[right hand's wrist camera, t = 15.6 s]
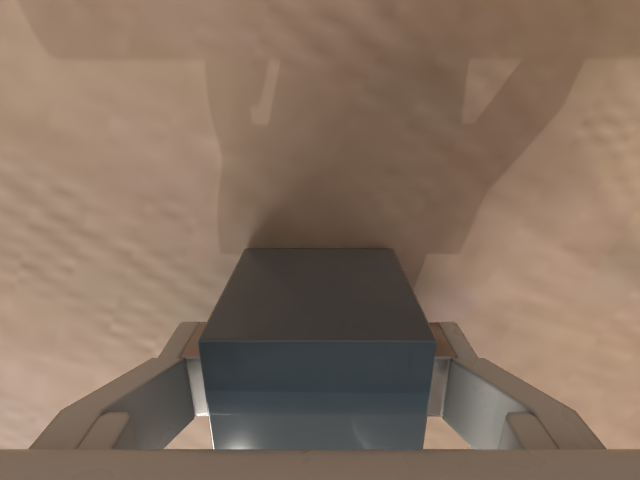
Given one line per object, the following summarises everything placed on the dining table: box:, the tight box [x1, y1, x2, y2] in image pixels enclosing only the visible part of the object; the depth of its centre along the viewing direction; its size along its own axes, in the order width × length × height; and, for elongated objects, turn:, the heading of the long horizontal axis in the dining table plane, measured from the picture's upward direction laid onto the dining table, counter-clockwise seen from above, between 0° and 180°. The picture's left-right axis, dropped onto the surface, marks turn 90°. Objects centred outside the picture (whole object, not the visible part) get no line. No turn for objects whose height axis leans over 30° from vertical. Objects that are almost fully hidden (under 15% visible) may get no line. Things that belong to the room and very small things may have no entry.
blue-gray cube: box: [198, 249, 437, 449], centre depth 10 cm, size 5×5×5 cm
